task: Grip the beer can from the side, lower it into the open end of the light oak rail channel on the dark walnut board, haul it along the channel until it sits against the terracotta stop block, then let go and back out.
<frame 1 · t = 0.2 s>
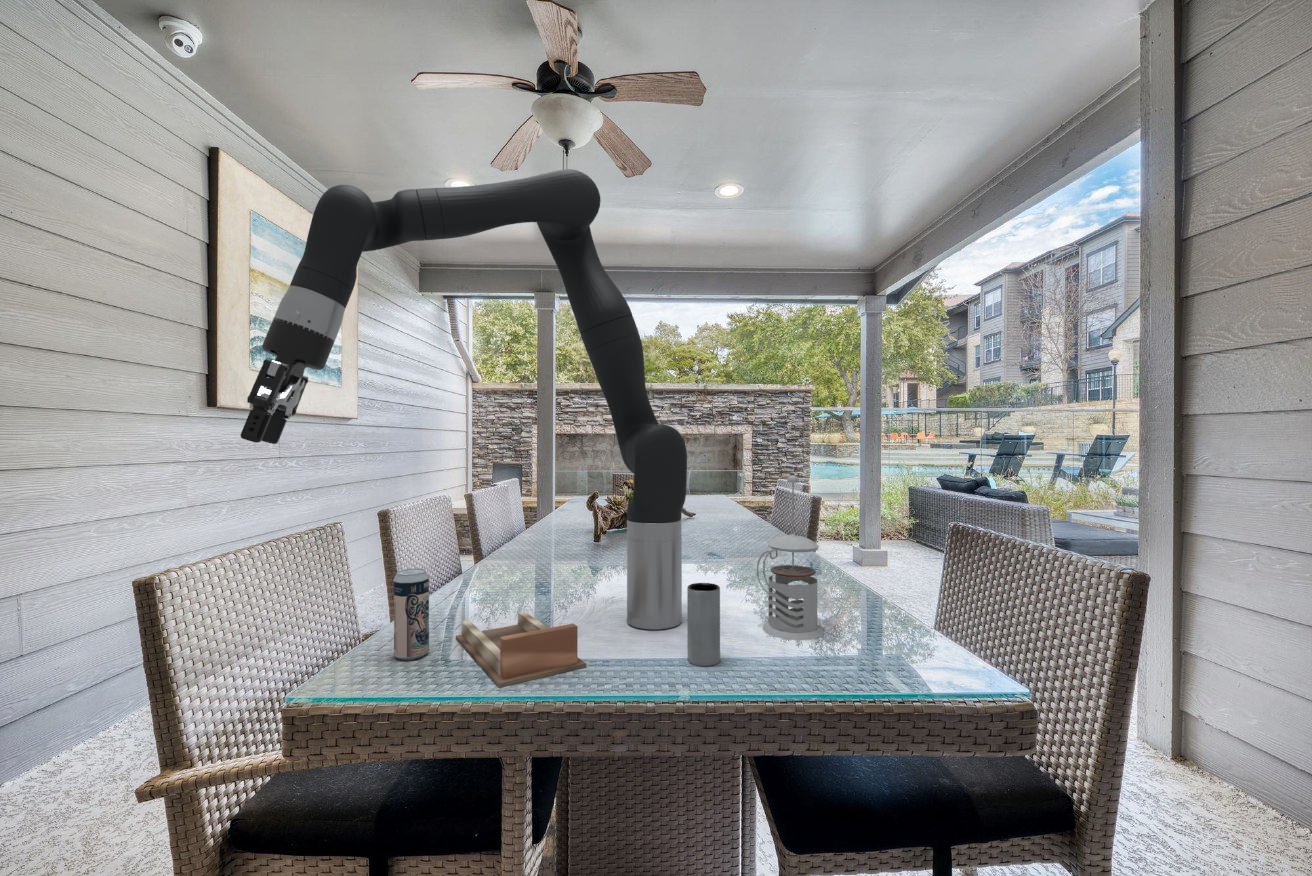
hand: (259, 441, 77), 31 cm above the table, tool tilted 20°, fingers open, 8 cm apart
keeper track: (517, 653, 85), on the table
beer can: (411, 656, 84), on the table
french press: (788, 629, 96), on the table
gray cylindrical tube: (703, 661, 82), on the table
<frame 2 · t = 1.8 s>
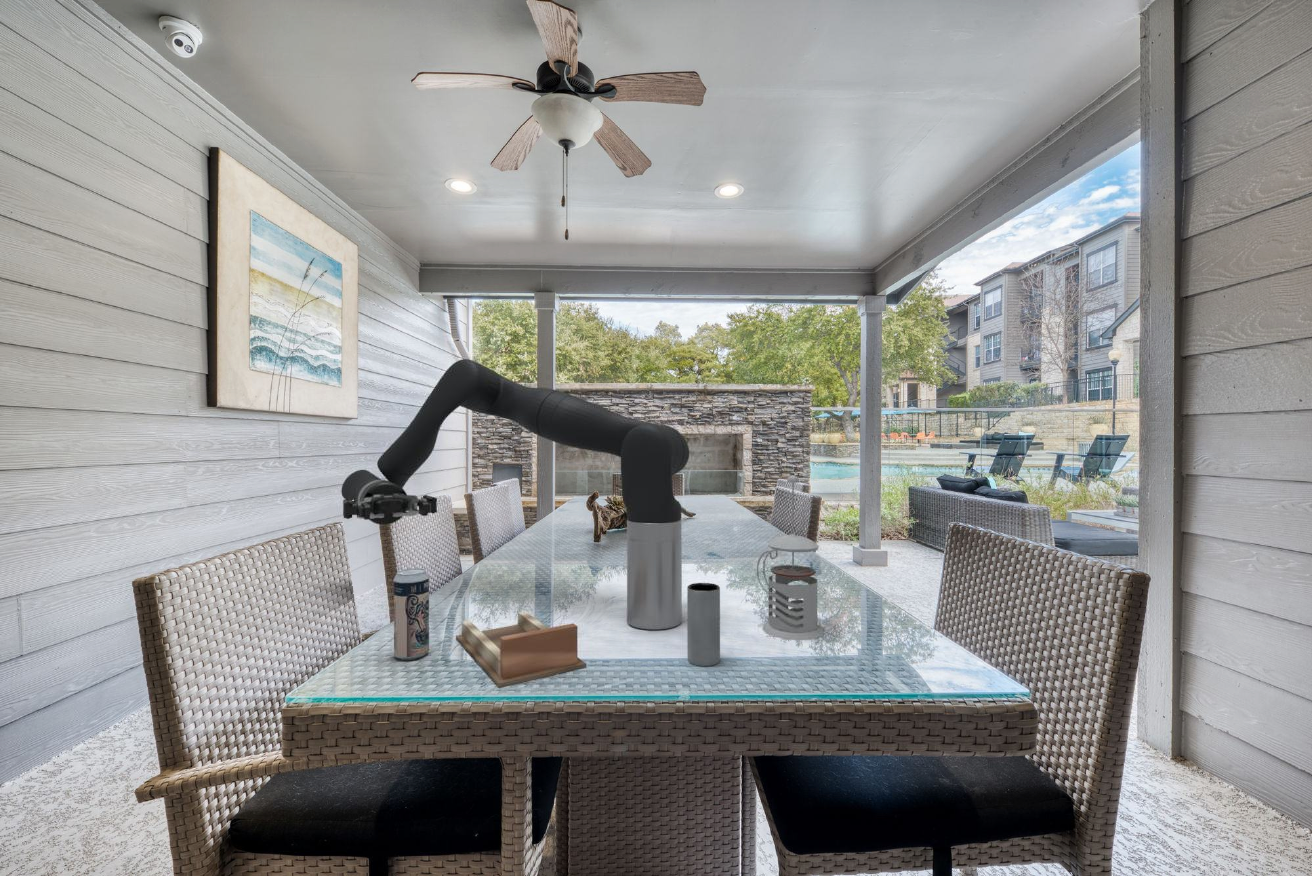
hand: (397, 511, 93), 19 cm above the table, tool horizontal, fingers open, 8 cm apart
nothing on the table moved.
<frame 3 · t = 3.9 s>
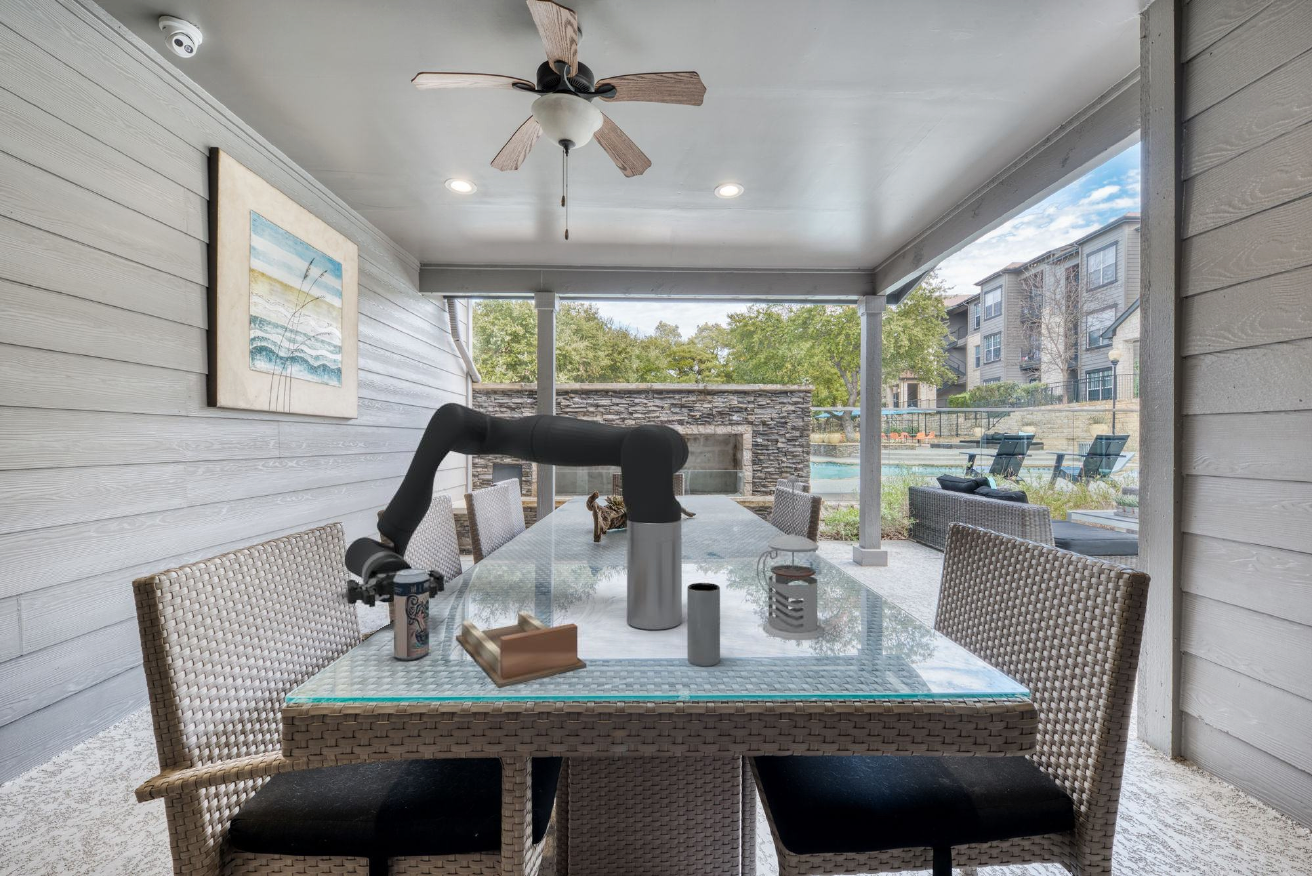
hand: (403, 596, 90), 7 cm above the table, tool horizontal, fingers open, 8 cm apart
nothing on the table moved.
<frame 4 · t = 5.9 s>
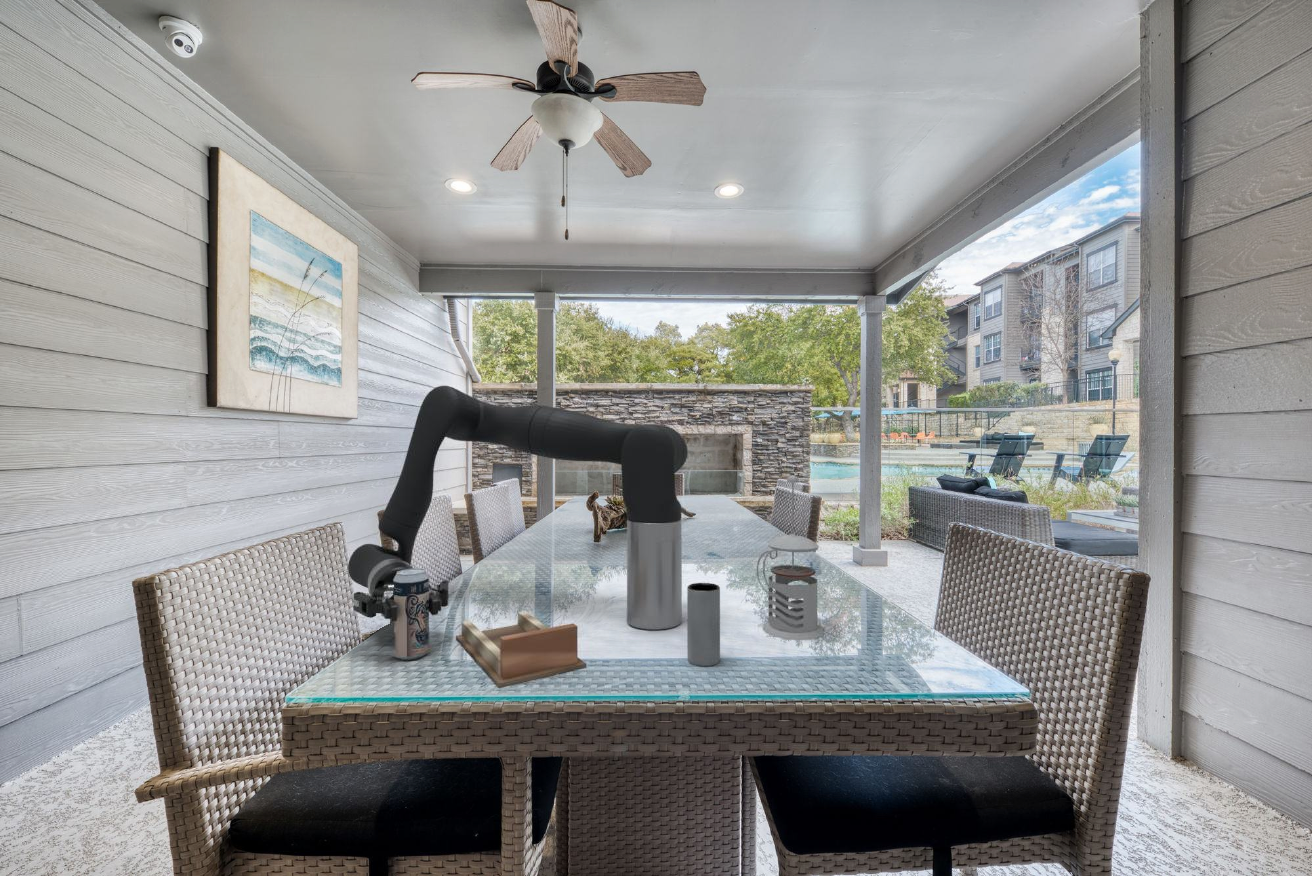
hand: (415, 610, 82), 7 cm above the table, tool horizontal, fingers closed on beer can, 4 cm apart
beer can: (411, 656, 84), on the table, touching gripper
everything else where it was.
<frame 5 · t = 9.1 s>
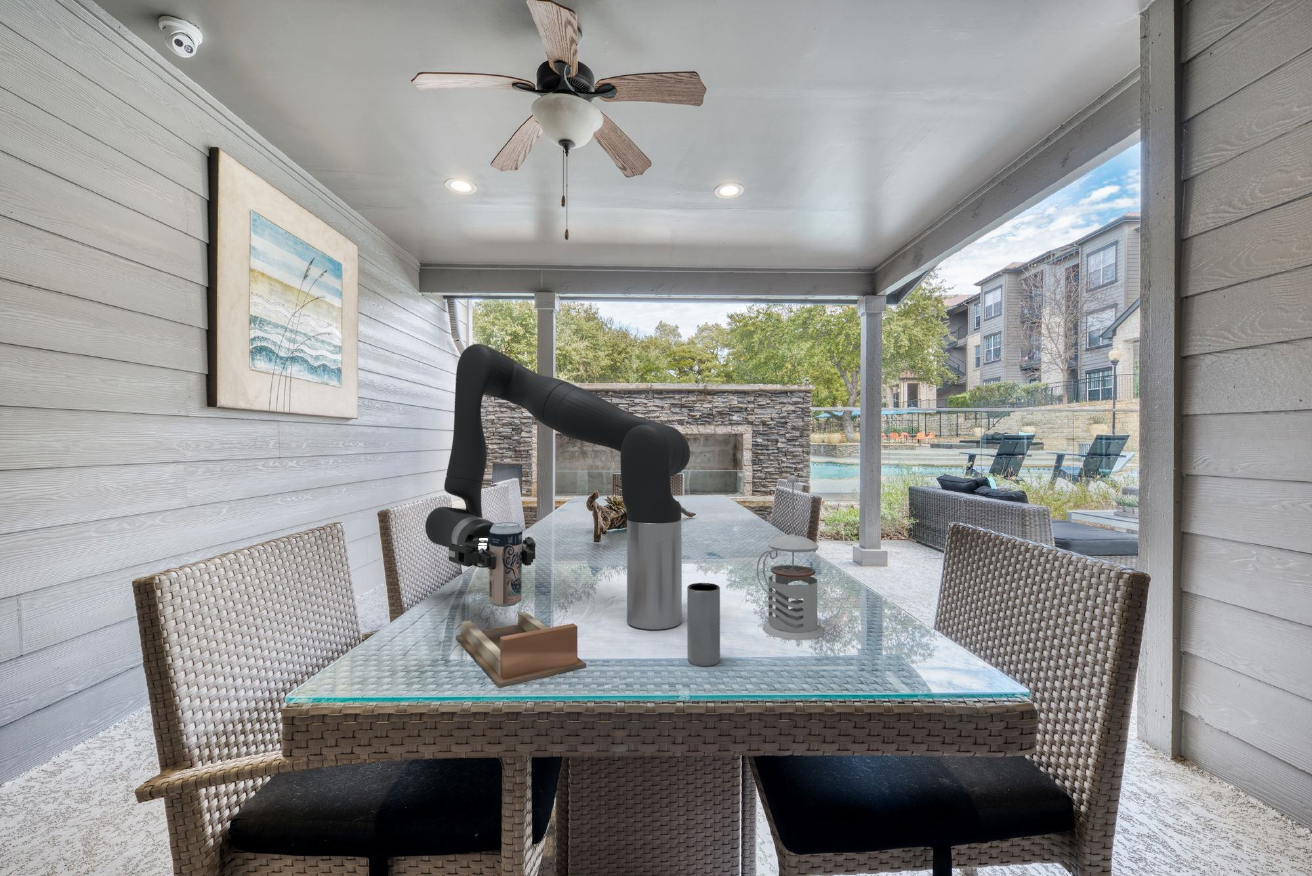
hand: (511, 560, 86), 13 cm above the table, tool horizontal, fingers closed on beer can, 4 cm apart
beer can: (505, 604, 89), point 6 cm above the table, touching gripper
everything else where it was.
when the fingers open (9 cm above the table, at t = 12.3 s): beer can drops 1 cm, resting on keeper track.
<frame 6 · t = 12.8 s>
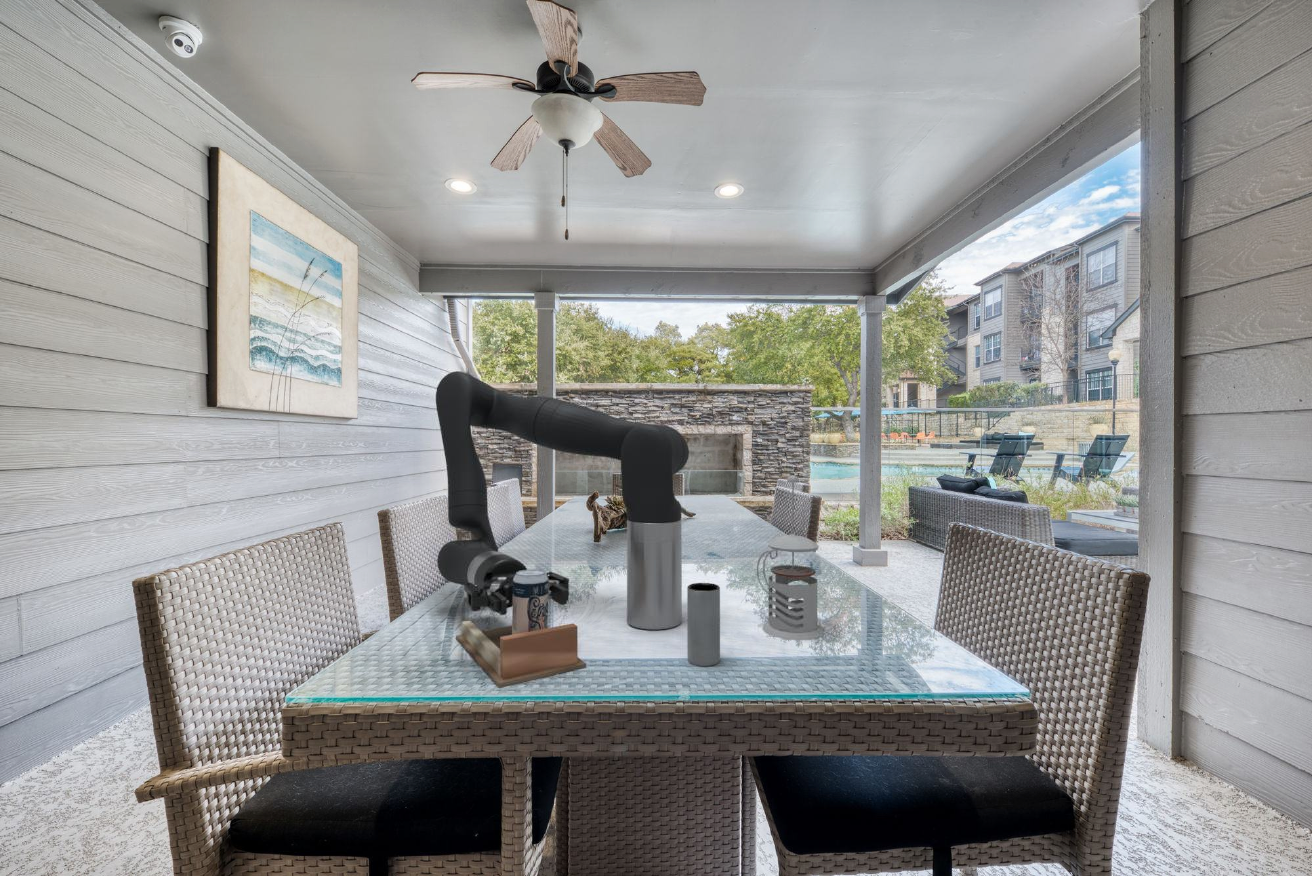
hand: (535, 602, 79), 9 cm above the table, tool horizontal, fingers open, 8 cm apart
beer can: (529, 661, 81), resting on keeper track
everything else where it was.
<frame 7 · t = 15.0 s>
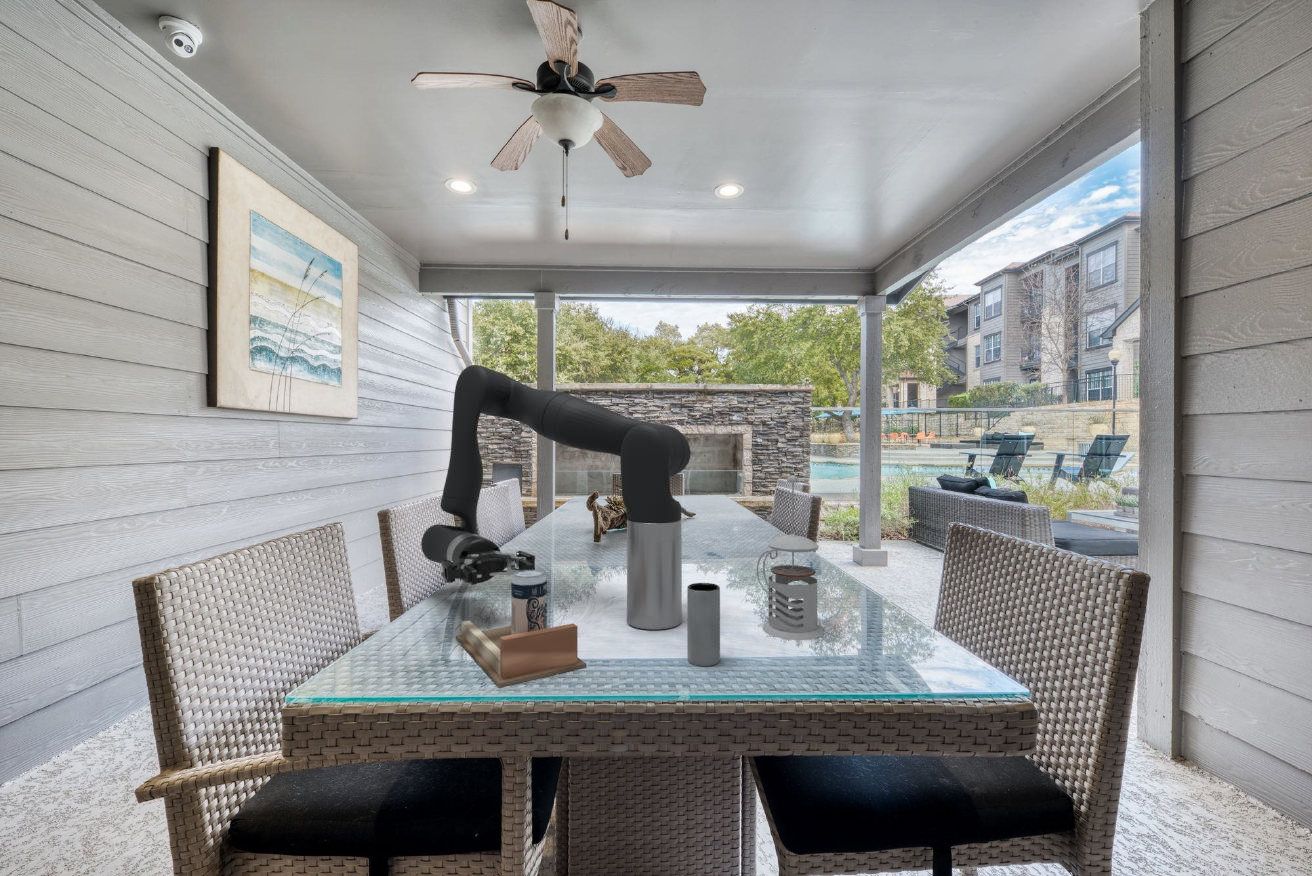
hand: (502, 574, 90), 10 cm above the table, tool horizontal, fingers open, 8 cm apart
nothing on the table moved.
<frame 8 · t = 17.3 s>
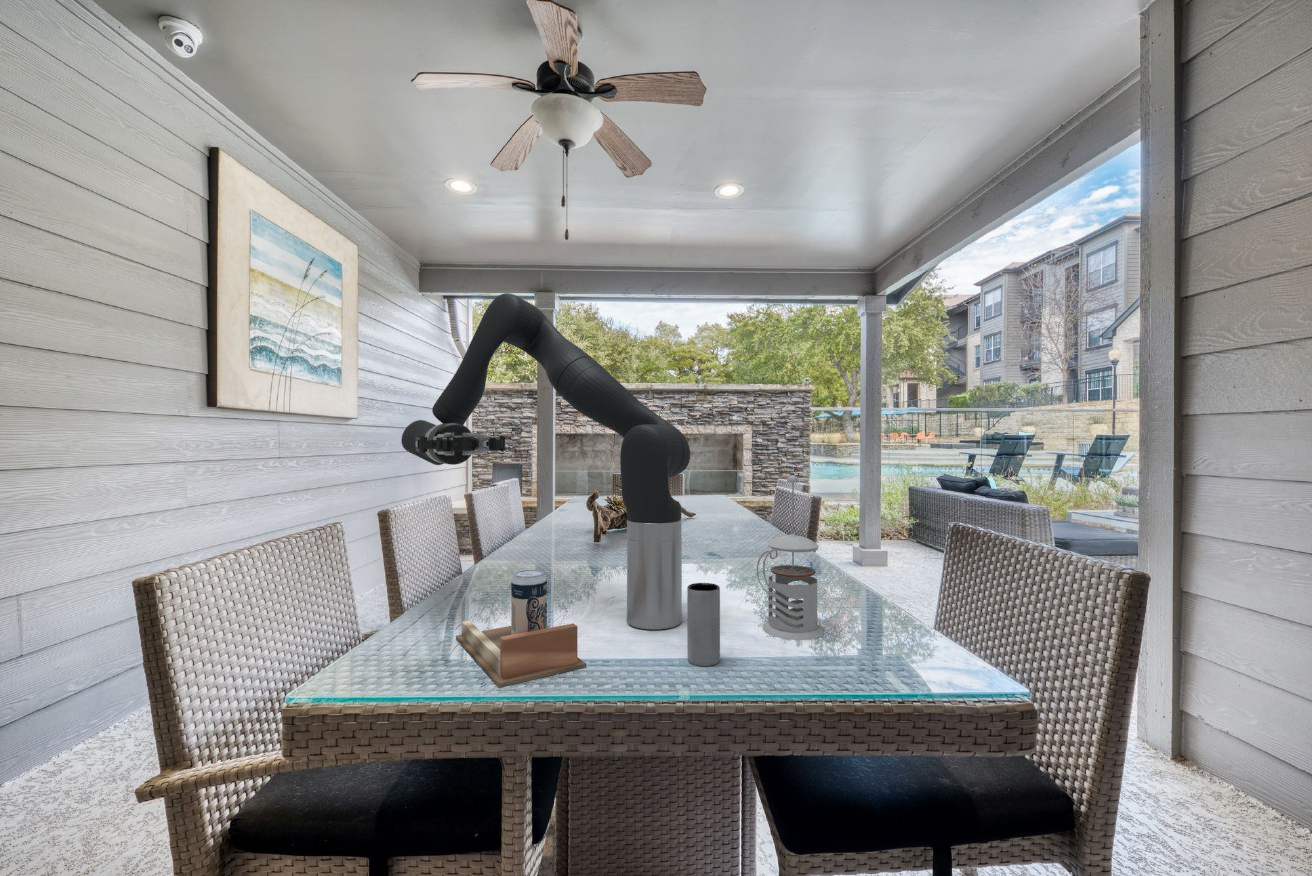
hand: (472, 444, 95), 30 cm above the table, tool horizontal, fingers open, 8 cm apart
nothing on the table moved.
at the end: beer can 0.2 cm from the target spot on the keeper track, point 0.3 cm above the keeper track's base; beer can tilted 0°; the gripper is holding nothing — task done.
